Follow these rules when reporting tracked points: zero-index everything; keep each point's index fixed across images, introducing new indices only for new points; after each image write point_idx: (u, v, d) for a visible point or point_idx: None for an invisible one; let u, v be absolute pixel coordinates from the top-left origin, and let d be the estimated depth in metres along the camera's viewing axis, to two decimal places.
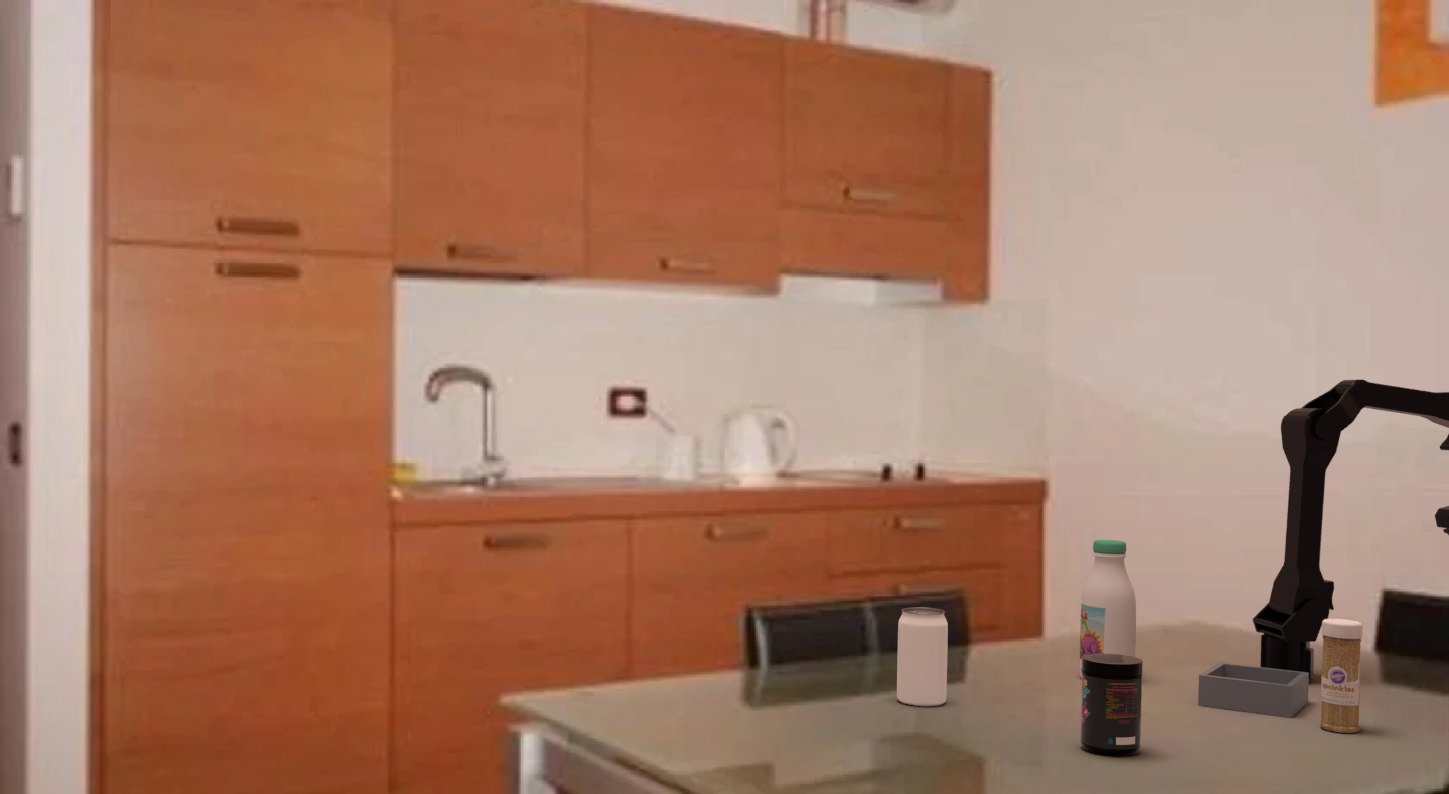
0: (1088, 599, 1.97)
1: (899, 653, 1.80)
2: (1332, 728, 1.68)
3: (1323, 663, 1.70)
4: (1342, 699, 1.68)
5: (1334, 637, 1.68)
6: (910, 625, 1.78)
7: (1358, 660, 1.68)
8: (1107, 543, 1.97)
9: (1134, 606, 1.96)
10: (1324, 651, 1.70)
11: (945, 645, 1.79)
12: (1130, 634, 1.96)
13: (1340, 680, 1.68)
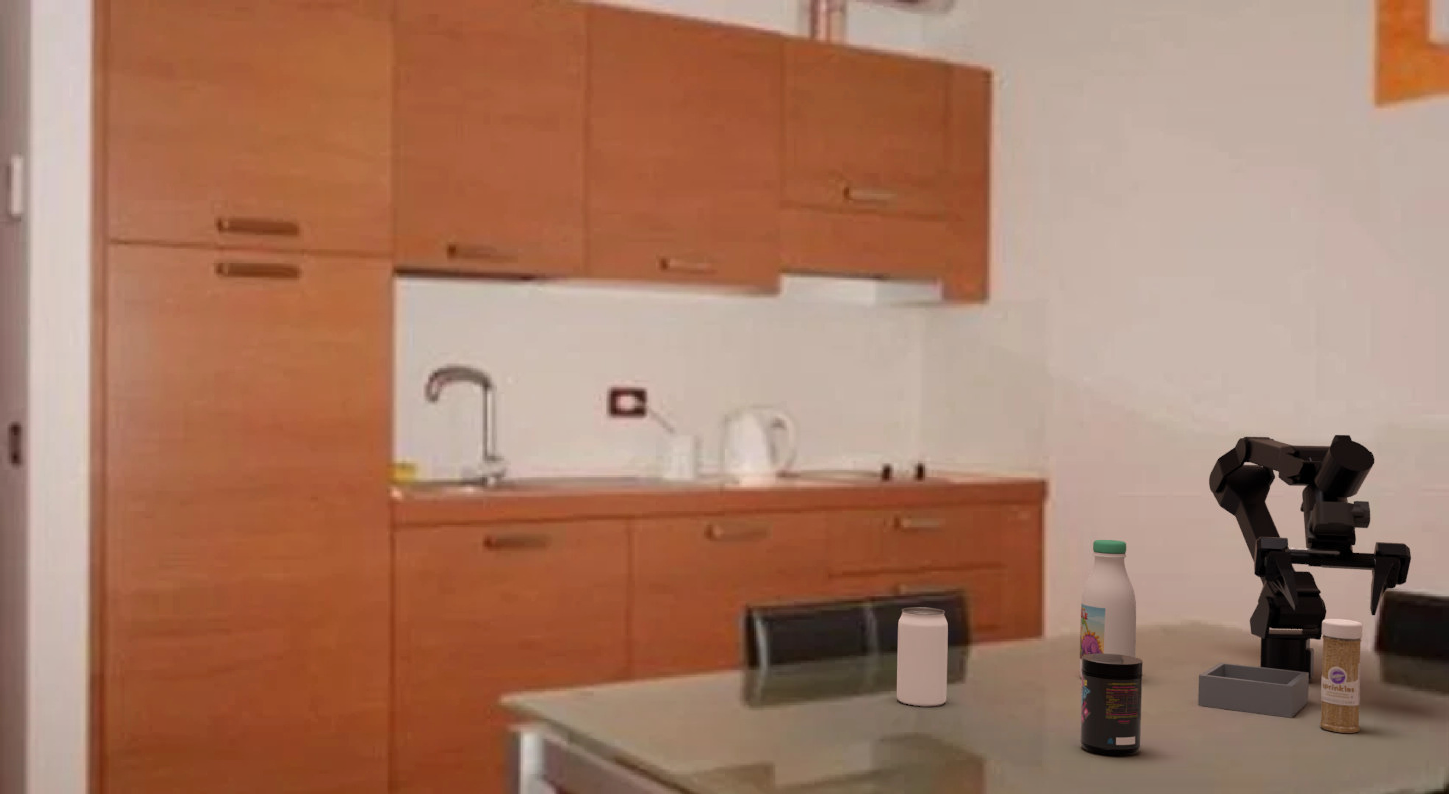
0: (1088, 599, 1.97)
1: (899, 653, 1.80)
2: (1332, 728, 1.68)
3: (1323, 663, 1.70)
4: (1342, 699, 1.68)
5: (1334, 637, 1.68)
6: (910, 625, 1.78)
7: (1358, 660, 1.68)
8: (1107, 543, 1.97)
9: (1134, 606, 1.96)
10: (1324, 651, 1.70)
11: (945, 645, 1.79)
12: (1130, 634, 1.96)
13: (1340, 680, 1.68)
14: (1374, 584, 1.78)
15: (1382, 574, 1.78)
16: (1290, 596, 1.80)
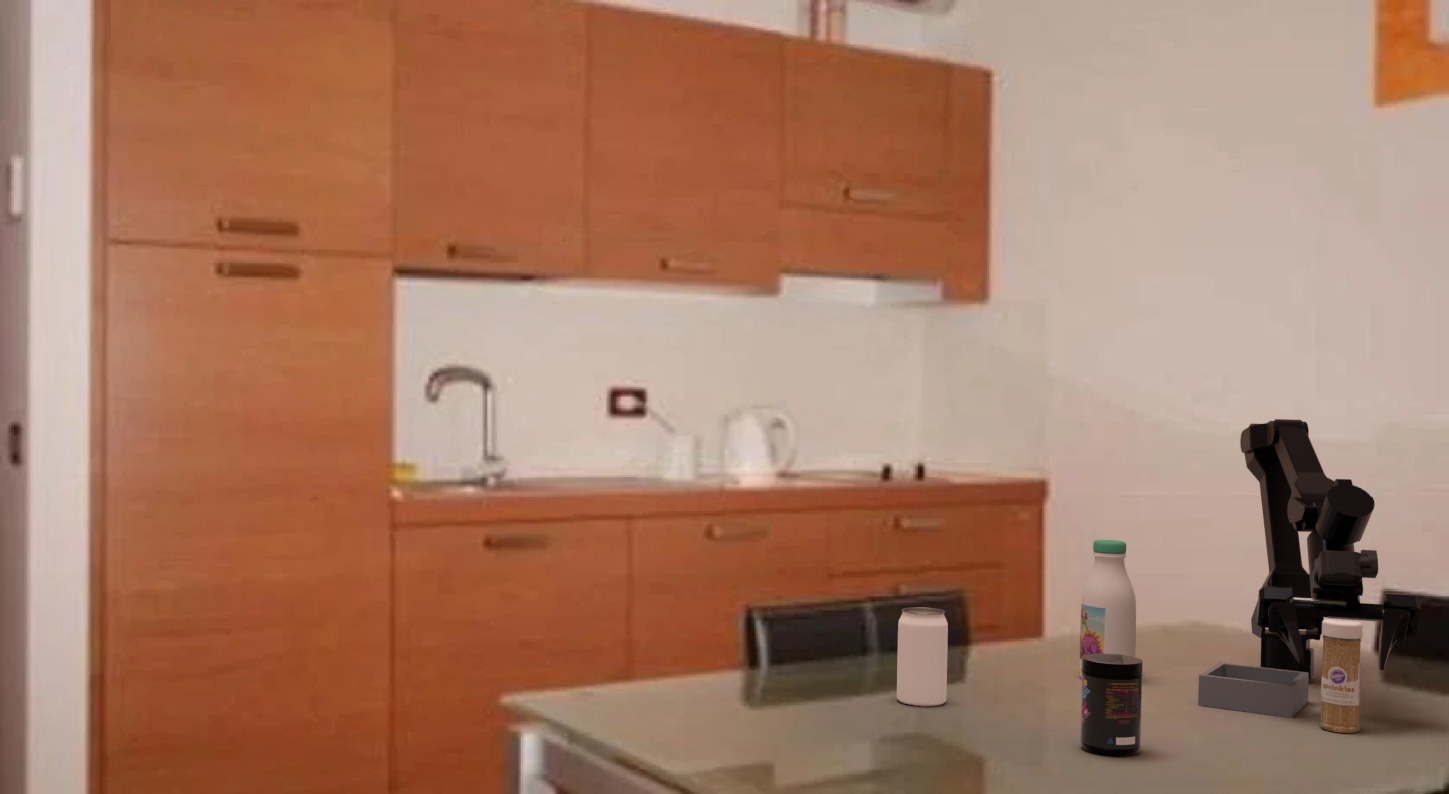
0: (1088, 599, 1.97)
1: (899, 653, 1.80)
2: (1332, 728, 1.68)
3: (1323, 663, 1.70)
4: (1342, 699, 1.68)
5: (1334, 637, 1.68)
6: (910, 625, 1.78)
7: (1358, 660, 1.68)
8: (1107, 543, 1.97)
9: (1134, 606, 1.96)
10: (1324, 651, 1.70)
11: (945, 645, 1.79)
12: (1130, 634, 1.96)
13: (1340, 680, 1.68)
14: (1382, 637, 1.70)
15: (1391, 627, 1.71)
16: (1295, 649, 1.72)
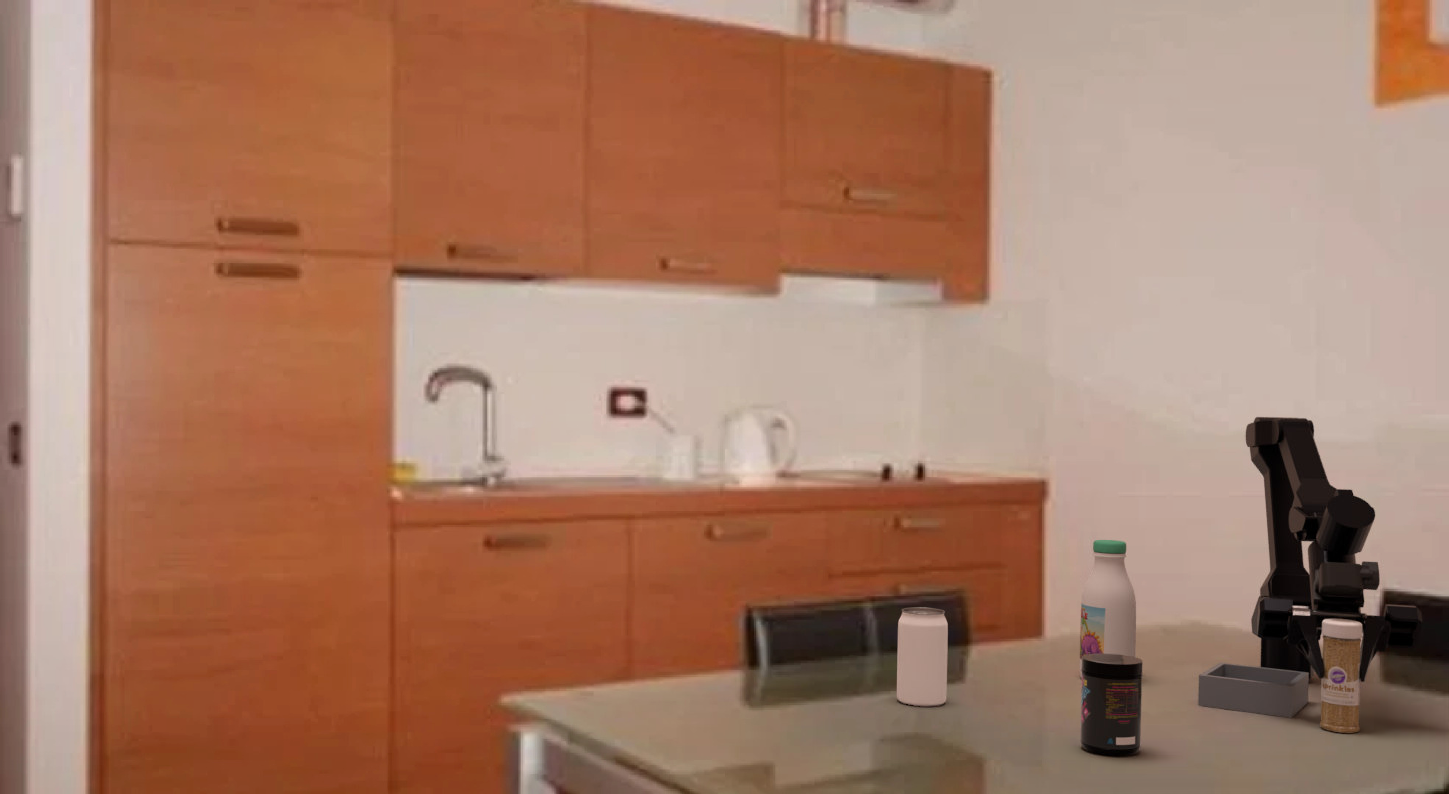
0: (1088, 599, 1.97)
1: (899, 653, 1.80)
2: (1332, 728, 1.68)
3: (1323, 663, 1.70)
4: (1342, 699, 1.68)
5: (1334, 637, 1.68)
6: (910, 625, 1.78)
7: (1358, 660, 1.68)
8: (1107, 543, 1.97)
9: (1134, 606, 1.96)
10: (1324, 651, 1.70)
11: (945, 645, 1.79)
12: (1130, 634, 1.96)
13: (1340, 680, 1.68)
14: (1363, 648, 1.69)
15: (1372, 638, 1.70)
16: (1315, 663, 1.70)
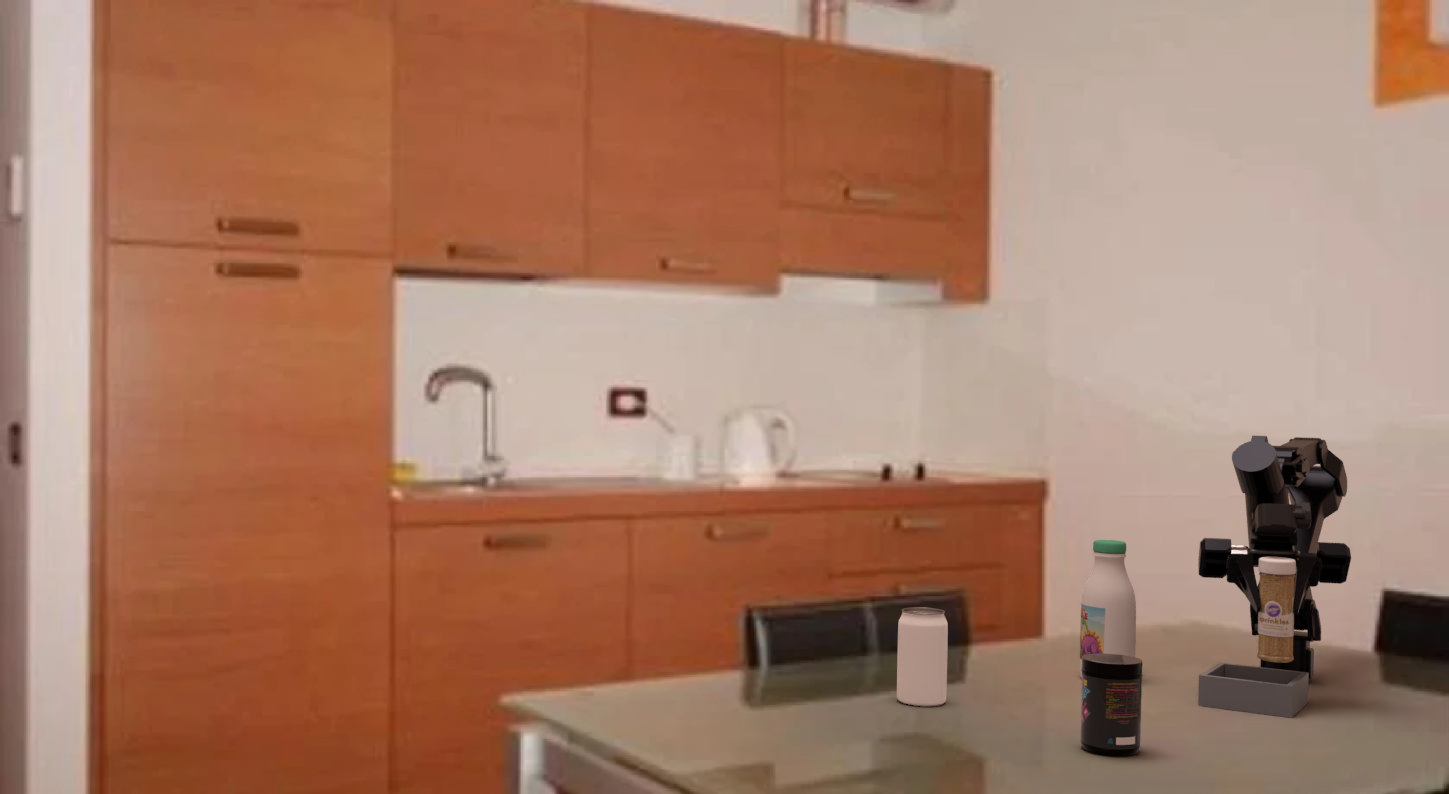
0: (1088, 599, 1.97)
1: (899, 653, 1.80)
2: (1268, 658, 1.79)
3: (1260, 598, 1.81)
4: (1278, 631, 1.79)
5: (1270, 574, 1.79)
6: (910, 625, 1.78)
7: (1292, 594, 1.79)
8: (1107, 543, 1.97)
9: (1134, 606, 1.96)
10: (1261, 587, 1.81)
11: (945, 645, 1.79)
12: (1130, 634, 1.96)
13: (1275, 614, 1.79)
14: (1297, 583, 1.81)
15: (1304, 573, 1.81)
16: (1252, 598, 1.81)
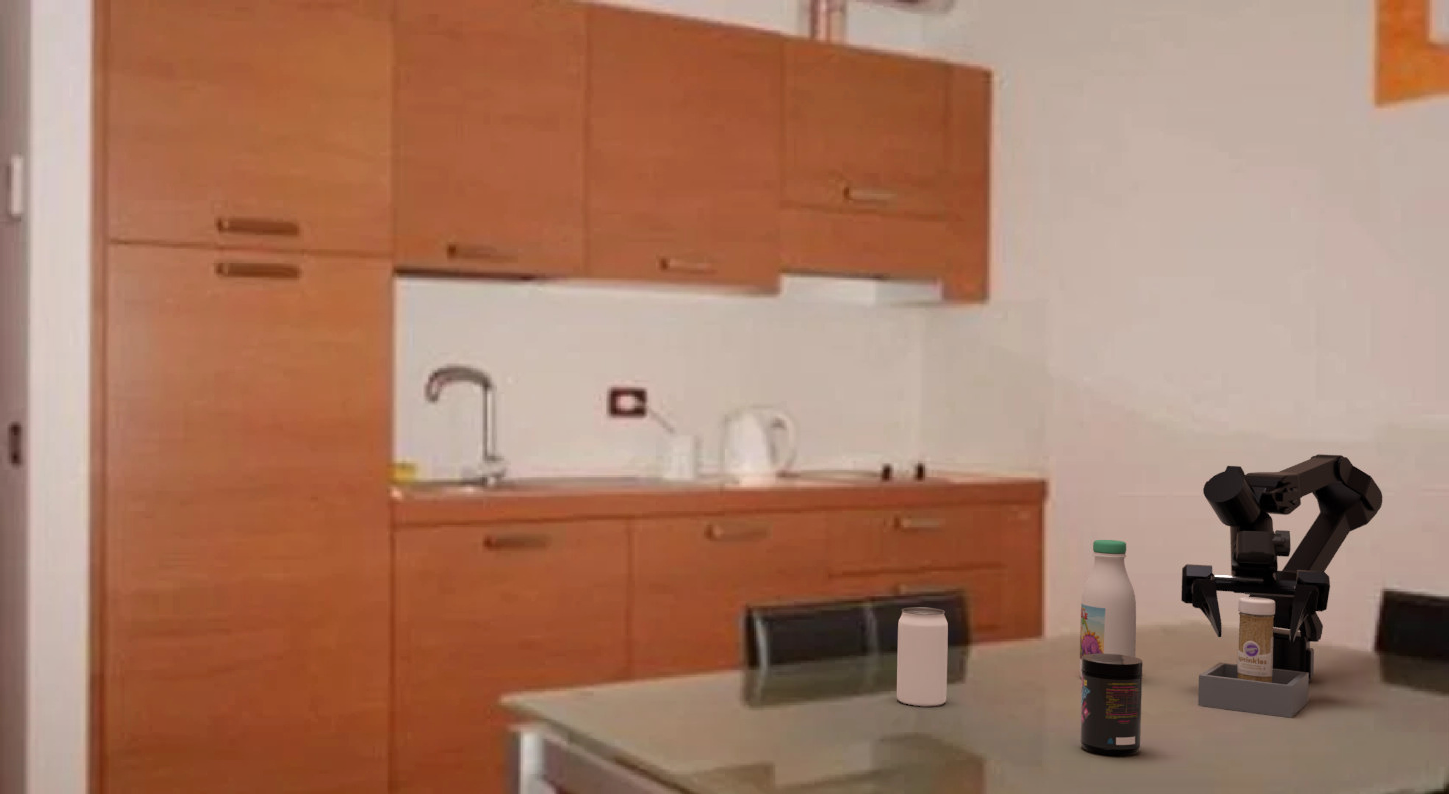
0: (1088, 599, 1.97)
1: (899, 653, 1.80)
2: None
3: (1239, 637, 1.84)
4: (1255, 671, 1.82)
5: (1249, 614, 1.82)
6: (910, 625, 1.78)
7: (1270, 635, 1.82)
8: (1107, 543, 1.97)
9: (1134, 606, 1.96)
10: (1240, 626, 1.84)
11: (945, 645, 1.79)
12: (1130, 634, 1.96)
13: (1253, 653, 1.82)
14: (1293, 611, 1.83)
15: (1301, 601, 1.83)
16: (1214, 623, 1.85)
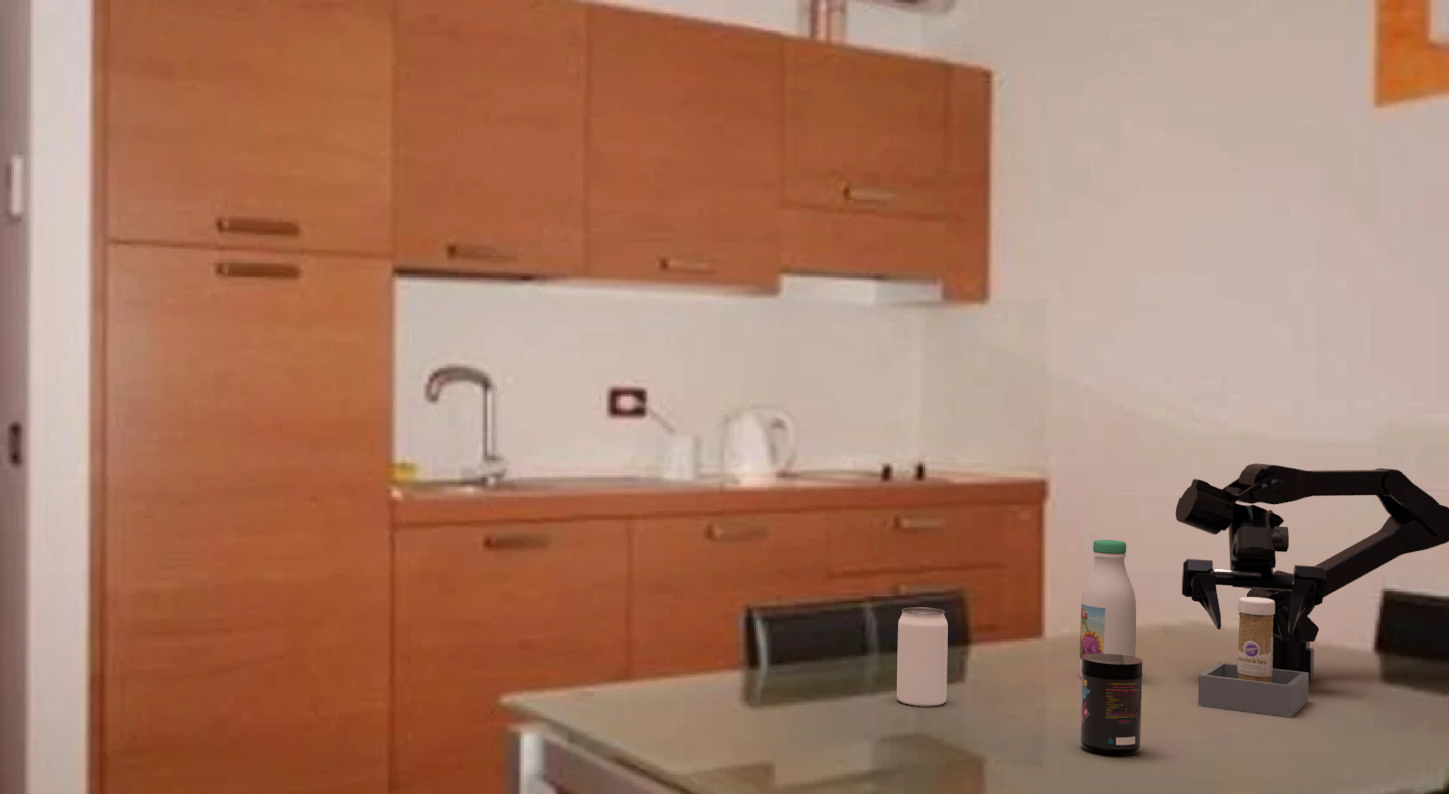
0: (1088, 599, 1.97)
1: (899, 653, 1.80)
2: None
3: (1239, 638, 1.84)
4: (1255, 671, 1.82)
5: (1248, 614, 1.82)
6: (910, 625, 1.78)
7: (1270, 635, 1.82)
8: (1107, 543, 1.97)
9: (1134, 606, 1.96)
10: (1240, 627, 1.84)
11: (945, 645, 1.79)
12: (1130, 634, 1.96)
13: (1253, 653, 1.82)
14: (1292, 605, 1.89)
15: (1299, 595, 1.89)
16: (1214, 616, 1.91)
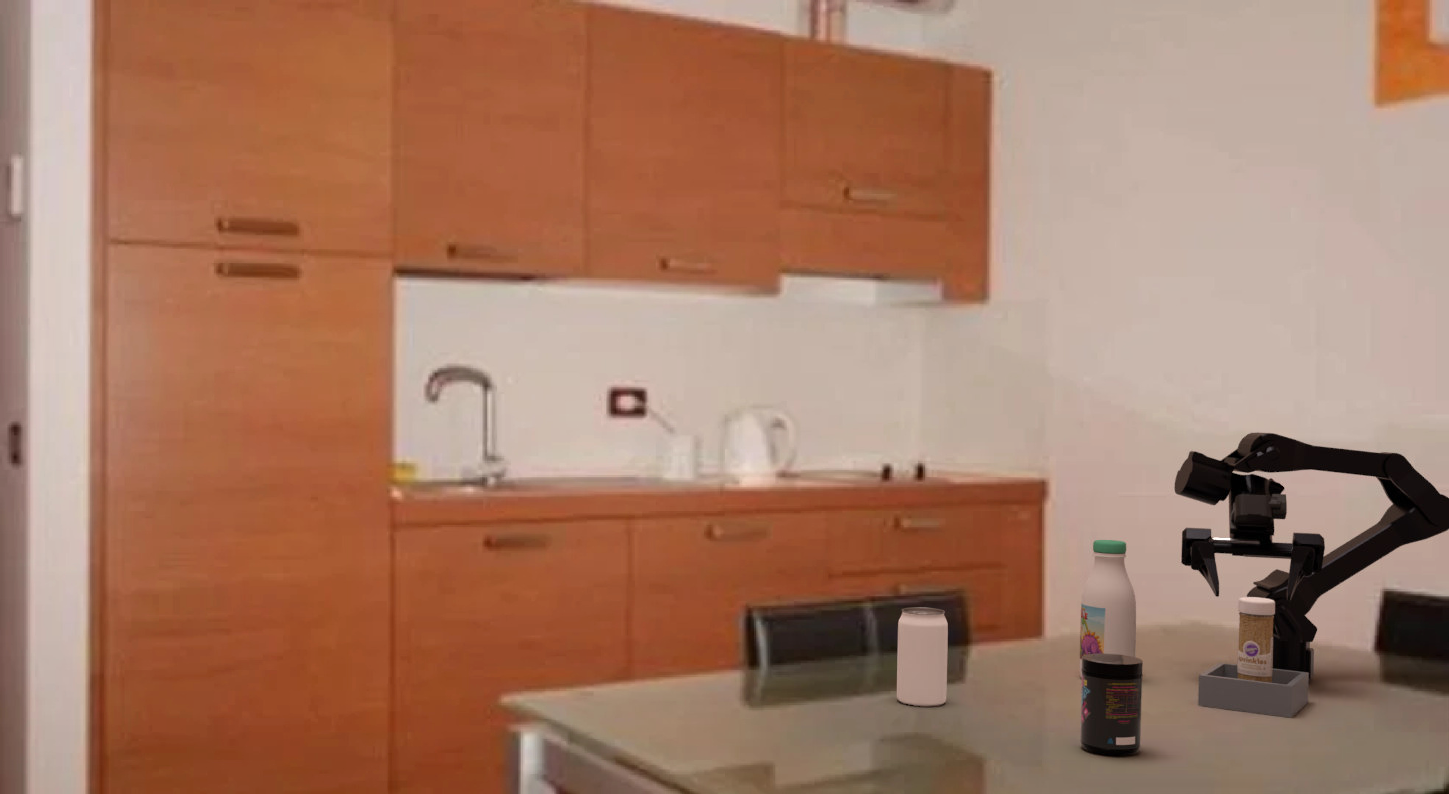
0: (1088, 599, 1.97)
1: (899, 653, 1.80)
2: None
3: (1239, 638, 1.84)
4: (1255, 671, 1.82)
5: (1248, 614, 1.82)
6: (910, 625, 1.78)
7: (1270, 635, 1.82)
8: (1107, 543, 1.97)
9: (1134, 606, 1.96)
10: (1240, 626, 1.84)
11: (945, 645, 1.79)
12: (1130, 634, 1.96)
13: (1253, 653, 1.82)
14: (1290, 572, 1.89)
15: (1298, 562, 1.90)
16: (1212, 583, 1.92)
